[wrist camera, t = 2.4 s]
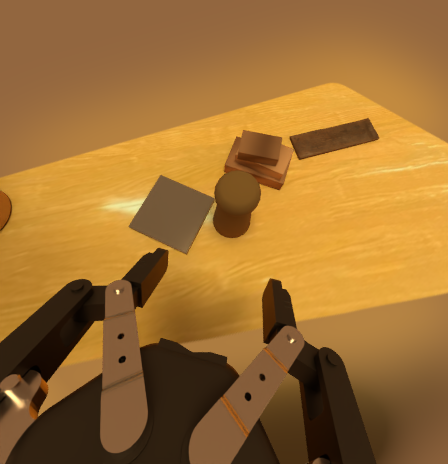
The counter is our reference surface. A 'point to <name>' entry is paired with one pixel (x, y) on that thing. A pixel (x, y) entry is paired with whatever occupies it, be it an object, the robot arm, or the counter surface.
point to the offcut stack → (260, 158)
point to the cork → (235, 203)
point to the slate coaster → (172, 214)
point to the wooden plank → (333, 138)
